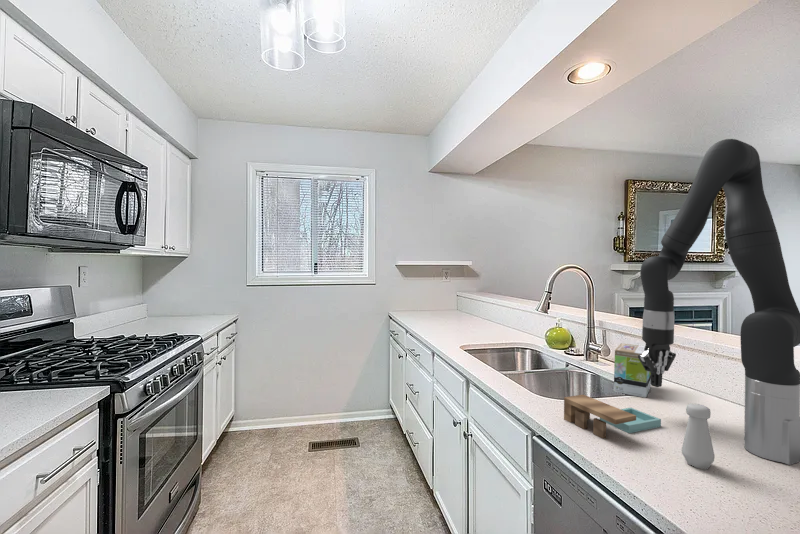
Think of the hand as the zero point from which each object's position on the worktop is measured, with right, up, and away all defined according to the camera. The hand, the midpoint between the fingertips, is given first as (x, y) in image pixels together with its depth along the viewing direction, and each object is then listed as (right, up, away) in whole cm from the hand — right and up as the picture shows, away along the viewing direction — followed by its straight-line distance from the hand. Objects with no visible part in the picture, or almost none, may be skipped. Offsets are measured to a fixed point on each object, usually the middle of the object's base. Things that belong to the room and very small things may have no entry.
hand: (656, 386), depth 111 cm
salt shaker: (-8, -9, -26) cm, 29 cm away
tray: (-10, -9, -4) cm, 14 cm away
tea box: (+8, -9, +24) cm, 27 cm away
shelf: (-21, -9, -8) cm, 24 cm away
